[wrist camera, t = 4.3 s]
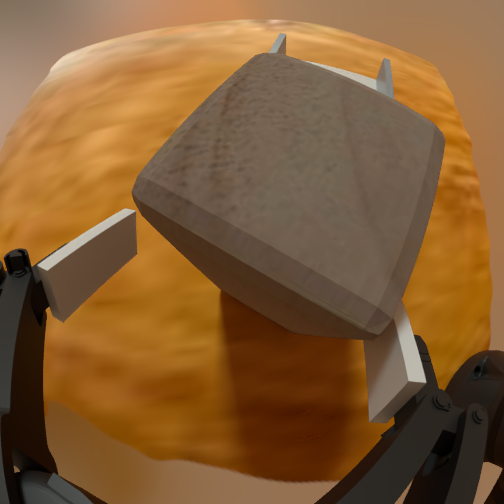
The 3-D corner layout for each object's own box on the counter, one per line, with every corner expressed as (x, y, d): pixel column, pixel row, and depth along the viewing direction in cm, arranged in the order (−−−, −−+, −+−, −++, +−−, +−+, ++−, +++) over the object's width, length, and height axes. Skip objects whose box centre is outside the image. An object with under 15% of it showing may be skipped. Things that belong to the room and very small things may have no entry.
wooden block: (347, 252, 28) (454, 127, 9) (301, 338, 26) (389, 355, 6) (265, 207, 30) (260, 41, 10) (215, 286, 27) (111, 191, 8)
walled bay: (383, 136, 32) (396, 110, 27) (256, 104, 34) (255, 74, 29) (382, 84, 35) (391, 60, 30) (278, 58, 37) (278, 33, 32)
